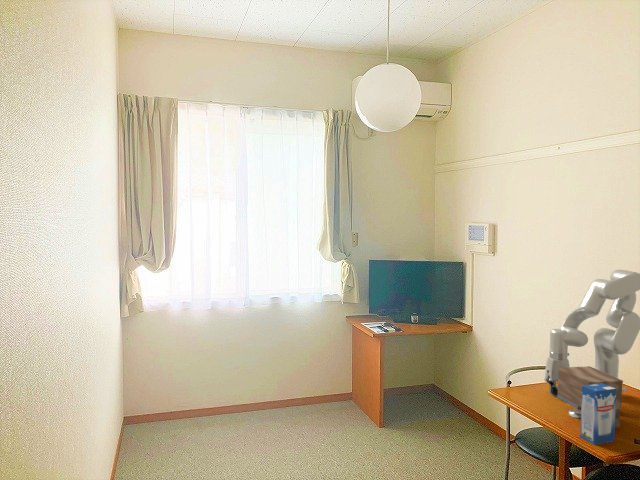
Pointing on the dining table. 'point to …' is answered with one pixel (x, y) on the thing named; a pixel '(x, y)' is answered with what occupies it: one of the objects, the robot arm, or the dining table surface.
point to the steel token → (575, 413)
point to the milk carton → (598, 413)
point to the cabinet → (580, 376)
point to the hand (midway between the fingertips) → (557, 394)
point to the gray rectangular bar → (564, 398)
